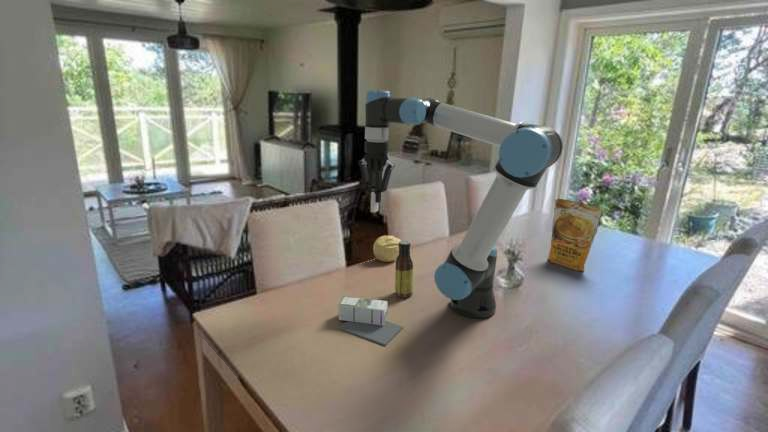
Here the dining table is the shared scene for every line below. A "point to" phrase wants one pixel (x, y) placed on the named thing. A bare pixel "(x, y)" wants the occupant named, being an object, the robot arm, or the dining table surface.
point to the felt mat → (373, 331)
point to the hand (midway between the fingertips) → (374, 211)
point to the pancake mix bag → (573, 233)
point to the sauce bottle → (404, 271)
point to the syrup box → (363, 310)
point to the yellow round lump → (386, 248)
